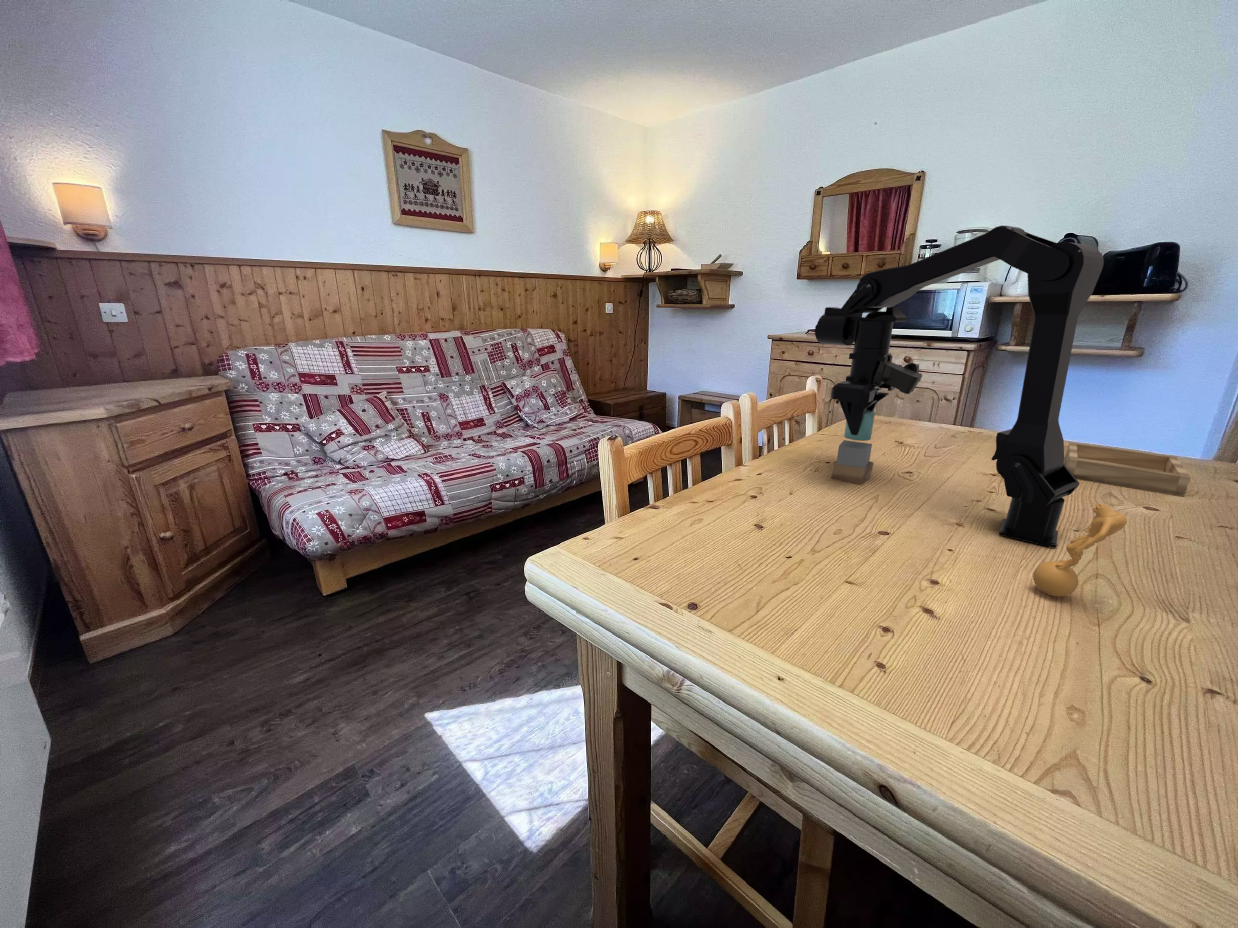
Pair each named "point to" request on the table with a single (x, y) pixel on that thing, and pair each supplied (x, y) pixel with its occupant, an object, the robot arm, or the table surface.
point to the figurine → (1077, 554)
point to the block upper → (854, 453)
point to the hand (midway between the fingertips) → (858, 432)
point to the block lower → (851, 473)
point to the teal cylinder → (862, 428)
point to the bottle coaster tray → (1127, 468)
